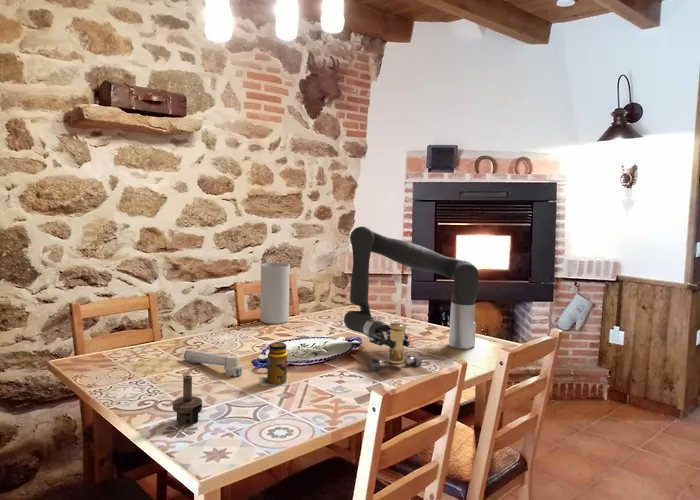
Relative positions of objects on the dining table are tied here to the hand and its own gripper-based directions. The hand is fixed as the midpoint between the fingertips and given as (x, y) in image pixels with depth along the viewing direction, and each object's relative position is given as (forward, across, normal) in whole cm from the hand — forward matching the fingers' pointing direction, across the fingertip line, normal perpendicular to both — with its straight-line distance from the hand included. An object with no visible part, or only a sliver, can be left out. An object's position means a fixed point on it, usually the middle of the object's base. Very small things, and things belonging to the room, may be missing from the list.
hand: (400, 344), depth 186 cm
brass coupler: (-3, 0, +7) cm, 7 cm away
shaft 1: (-3, -6, +9) cm, 11 cm away
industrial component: (+16, -71, +9) cm, 73 cm away
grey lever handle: (-23, -57, +10) cm, 62 cm away
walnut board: (-7, 0, +9) cm, 11 cm away
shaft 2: (-3, +6, +9) cm, 11 cm away
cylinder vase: (-77, -20, +10) cm, 80 cm away
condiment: (-5, -42, +10) cm, 43 cm away
